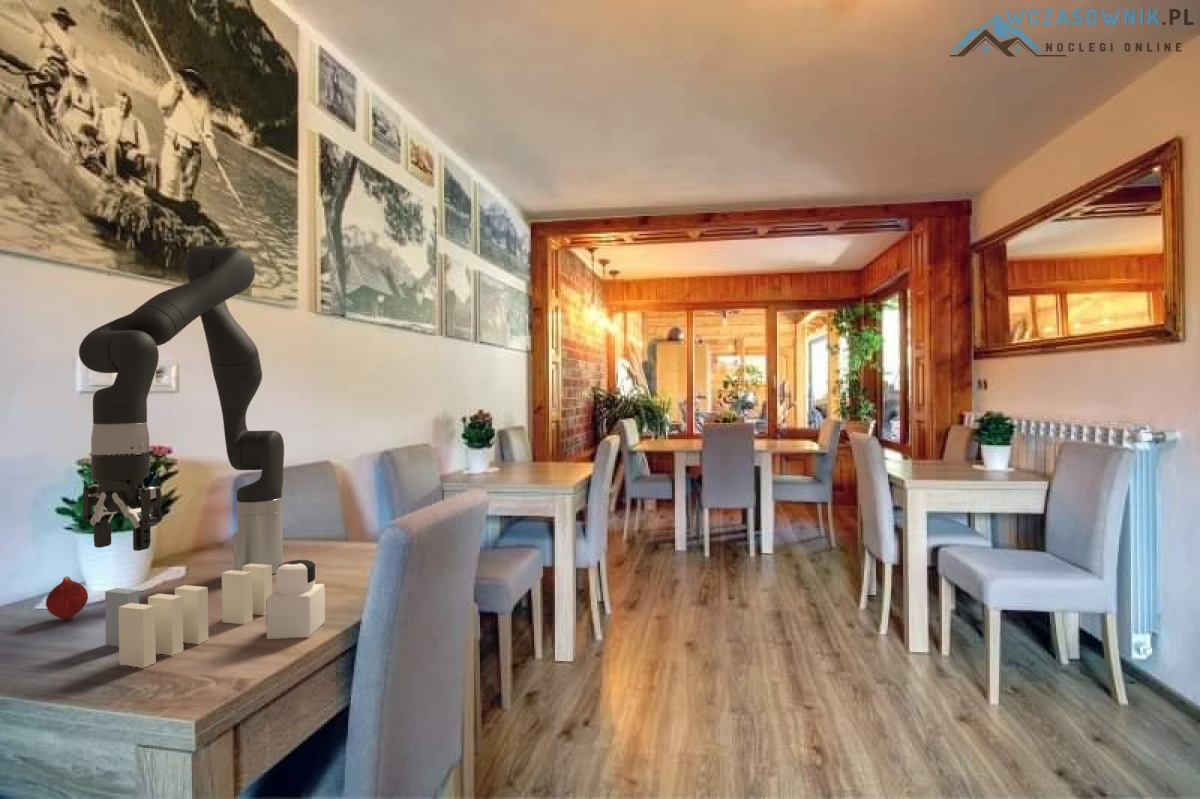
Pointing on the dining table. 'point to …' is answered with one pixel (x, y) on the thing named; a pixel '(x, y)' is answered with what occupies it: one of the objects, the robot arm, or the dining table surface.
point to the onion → (66, 599)
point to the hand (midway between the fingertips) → (122, 548)
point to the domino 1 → (116, 611)
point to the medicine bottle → (295, 602)
